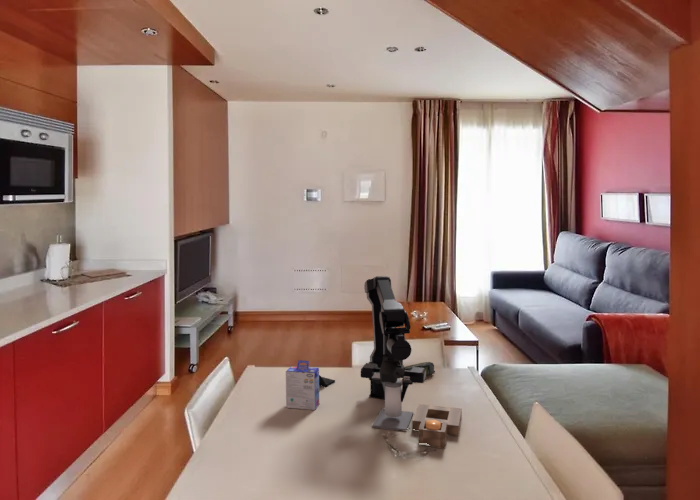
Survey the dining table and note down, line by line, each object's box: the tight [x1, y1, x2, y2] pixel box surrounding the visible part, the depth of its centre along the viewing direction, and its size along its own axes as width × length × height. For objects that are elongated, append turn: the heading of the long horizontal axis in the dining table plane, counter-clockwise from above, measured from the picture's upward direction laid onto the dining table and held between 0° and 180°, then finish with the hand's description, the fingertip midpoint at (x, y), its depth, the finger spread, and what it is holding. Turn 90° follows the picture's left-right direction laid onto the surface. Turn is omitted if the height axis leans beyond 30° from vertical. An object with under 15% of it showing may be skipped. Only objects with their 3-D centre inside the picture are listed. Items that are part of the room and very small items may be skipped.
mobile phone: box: [402, 361, 436, 380], centre depth 187 cm, size 5×3×15 cm
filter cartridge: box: [384, 378, 403, 417], centre depth 149 cm, size 5×5×10 cm
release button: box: [426, 420, 441, 430], centre depth 137 cm, size 4×4×4 cm
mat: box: [371, 408, 414, 431], centre depth 150 cm, size 10×12×1 cm
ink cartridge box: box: [285, 359, 320, 411], centre depth 161 cm, size 10×6×14 cm, turn 79°
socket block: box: [411, 403, 463, 449], centre depth 143 cm, size 13×20×4 cm, turn 164°
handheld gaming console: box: [319, 374, 336, 388], centre depth 181 cm, size 12×7×10 cm
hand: (393, 400), depth 150 cm, fingers closed on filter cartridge, 5 cm apart
